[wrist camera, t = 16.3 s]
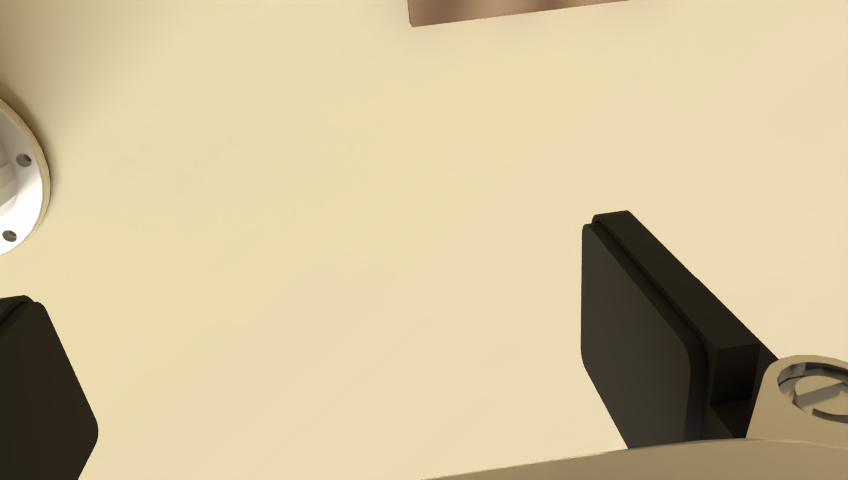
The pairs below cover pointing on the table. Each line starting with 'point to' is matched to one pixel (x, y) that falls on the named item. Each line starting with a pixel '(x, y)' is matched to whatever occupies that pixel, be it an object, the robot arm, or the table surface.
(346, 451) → the table surface
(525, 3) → the walnut board
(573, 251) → the table surface
